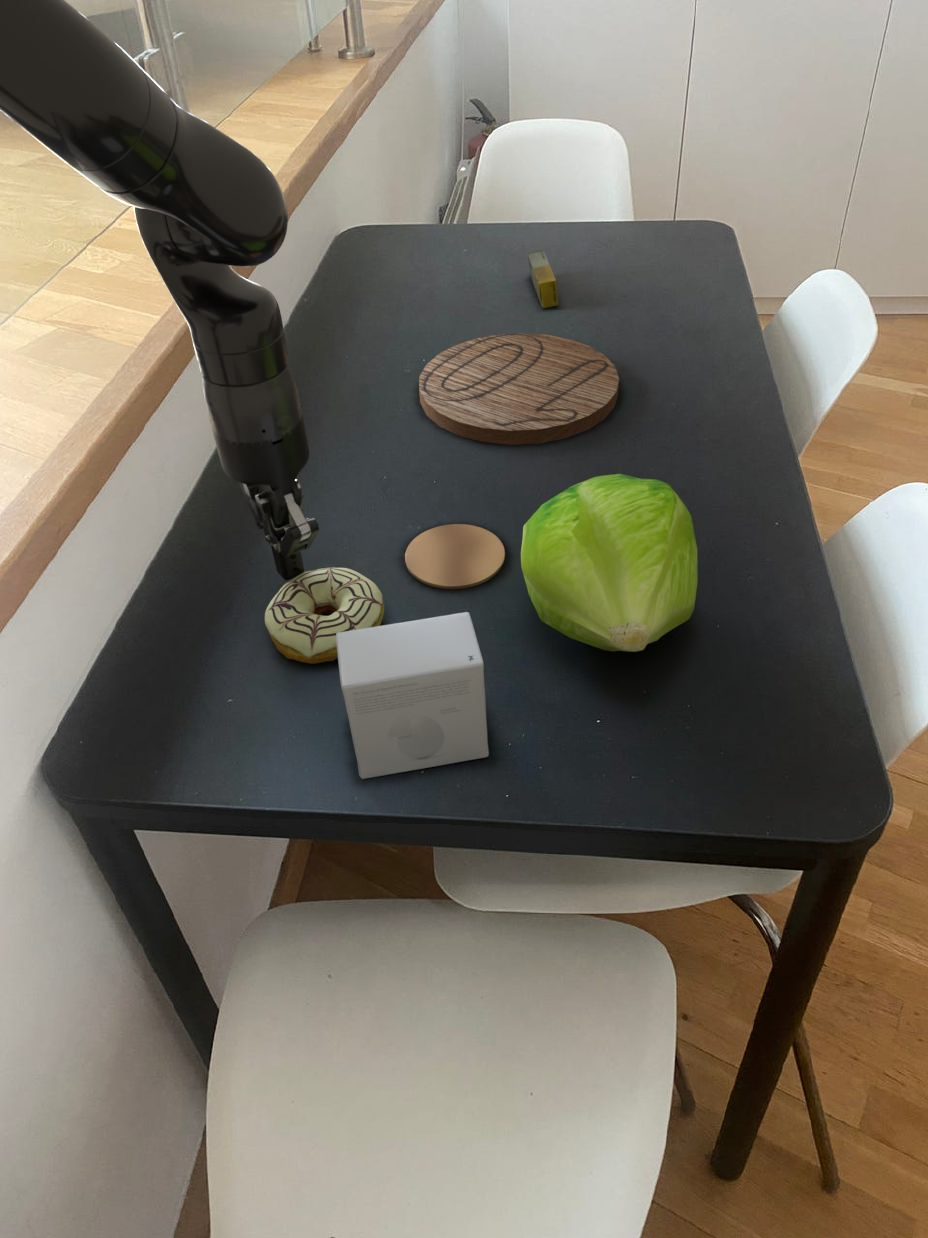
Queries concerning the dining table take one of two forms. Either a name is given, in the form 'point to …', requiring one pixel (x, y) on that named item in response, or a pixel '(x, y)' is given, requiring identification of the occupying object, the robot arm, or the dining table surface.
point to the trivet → (518, 388)
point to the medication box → (543, 279)
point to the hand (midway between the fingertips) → (291, 573)
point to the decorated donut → (321, 612)
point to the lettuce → (612, 562)
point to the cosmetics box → (414, 694)
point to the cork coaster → (455, 556)
